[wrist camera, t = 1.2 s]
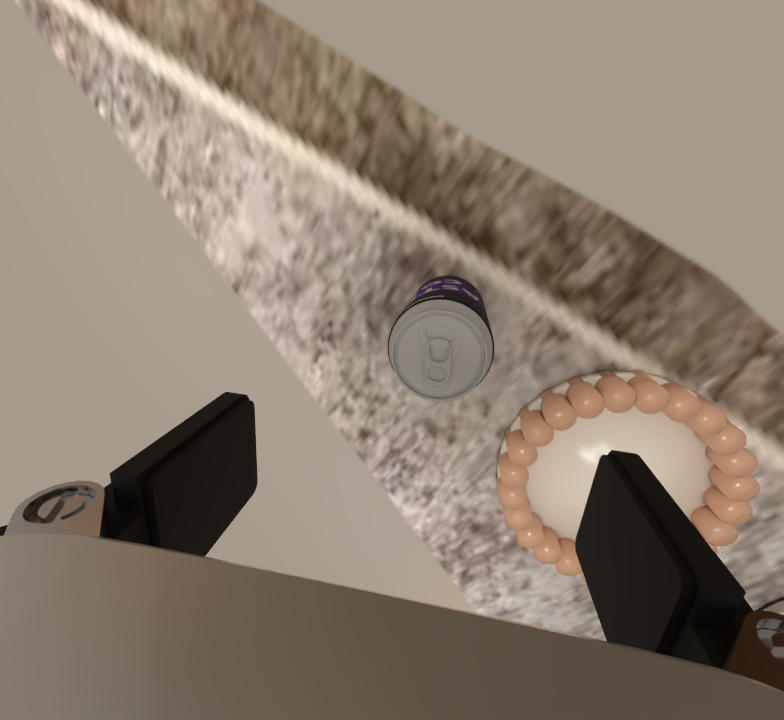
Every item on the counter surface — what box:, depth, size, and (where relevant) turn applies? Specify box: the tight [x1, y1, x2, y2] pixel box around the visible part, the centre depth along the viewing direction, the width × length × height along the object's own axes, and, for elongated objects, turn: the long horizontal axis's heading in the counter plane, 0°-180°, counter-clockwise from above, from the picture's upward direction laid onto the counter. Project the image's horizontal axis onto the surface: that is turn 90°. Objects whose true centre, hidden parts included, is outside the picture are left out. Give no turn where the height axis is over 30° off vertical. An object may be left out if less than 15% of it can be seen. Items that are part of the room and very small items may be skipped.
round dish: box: [496, 370, 759, 581], centre depth 32 cm, size 18×18×3 cm
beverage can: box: [388, 276, 494, 401], centre depth 26 cm, size 6×6×12 cm
